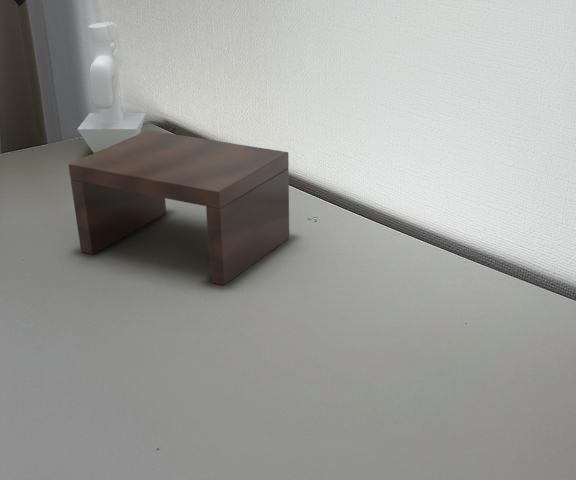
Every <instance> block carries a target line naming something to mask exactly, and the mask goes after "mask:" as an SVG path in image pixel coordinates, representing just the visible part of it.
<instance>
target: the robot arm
mask: <svg viewBox="0 0 576 480" xmlns="http://www.w3.org/2000/svg"><path fill="white" fill-rule="evenodd" d="M13 1H14V2H15V3H16V4H17V6H18V7H20V6H22V5H24V3H25V2H26V0H13Z"/></svg>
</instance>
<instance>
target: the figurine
mask: <svg viewBox="0 0 576 480" xmlns="http://www.w3.org/2000/svg"><path fill="white" fill-rule="evenodd" d="M87 28H88V29H87V30H88V33H89V37H90V40H91V45H92V54H93V61H92V62H91V65H90V68H89V80H90V88H91V96H92V103H93V106H94V107H95V108H96V109H99V111H100V112H89V113H88V115H87V116H86V117H85V119H84V120H83V121H82V122H81V123H80V125H79V126H78V128H76V131H77V132H78V133H79V134H80V135H81V137H82V139H83V141H85V144H86V145H87V146H88V147H89V148H90V150H91V152H92V154H93V153H96V152H98V151H100V150H103V149H105V148H107V147H110V146H112V145H114V144H117V143H119V142H122V141H124V140H126V139H129V138H131V137H133V136H136V135H138V134H140V133H141V131H142V127H143V125H144V122H145V119H146V115H147V112H123V103H122V94H121V85H120V75H119V69H120V67H121V66H122V61H123V59H122V58H123V55H122V53H123V52H122V45H121V38H120V37H121V36H120V29H119V25H118V24H117V23H116V22H114V21H103V22H95V23H91V24H89V25H88V26H87Z"/></svg>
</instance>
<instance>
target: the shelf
mask: <svg viewBox="0 0 576 480" xmlns="http://www.w3.org/2000/svg"><path fill="white" fill-rule="evenodd" d="M289 161H290V160H289V151H283V150H277V149H270V148H264V147H258V146H251V145H246V144H245V145H244V144H238V143H234V142H226V141H221V140H214V139H207V138H200V137H193V136H188V135H182V134H175V133H169V132H162V131H155V130H149V129H147V130H145V131H143V132H140V134H138V135H136V136H133V137H131V138H129V139H126V140H124V141H122V142H119V143H117V144H114V145H112V146H110V147H107V148H105V149H103V150H100V151H98V152H96V153H93V152H92V153H91V154H89V155H86V156H83V157H82V158H79V159H76V160H75V161H73V162H70V163H68V164H67V165H68V171H69V177H70V179H69V180H70V187H71V193H72V198H73V205H74V213H75V219H76V226H77V233H78V239H79V246H80V247H79V248H80V252H81V253H85V254H90V255H94V254H96V253H98V252H99V251H101V250H103V249H105V248H107V247H108V246H110V245H112V244H113V243H115V242H118V241H119V240H120V239H123V238H125V237H126V236H128V235H130V234H131V233H133V232H135V231H137V230H139V229H140V228H143V227H144V226H146V225H148V224H150V223H151V222H153V221H155V220H157V219H159V218H160V217H162V216H164V215H166V214H167V204H166V199H167V200H172V201H178V202H183V203H188V204H193V205H197V206H202V207H205V210H206V227H207V228H206V229H207V238H208V239H207V243H208V259H209V260H208V261H209V276H210V277H209V278H210V283H213V284H217V285H220V286H225V285H227V284H228V283H230V282H231V281H232V280H234V279H235V278H236V277H237V276H239V275H240V274H242V273H243V272H245V271H246V270H248V268H250V267H252V266H253V265H254V264H255V263H257V262H258V261H260V260H261V259H262V258H264V257H265V256H267V255H268V254H269V253H270V252H272V251H273V250H275V249H276V248H278V247H279V246H281V245H282V244H283V243H285V242H286V241H288V240H289V239H290V183H289V182H290V179H289V177H290V176H289V173H290V171H289V170H290V169H289V167H290V166H289V163H290V162H289Z"/></svg>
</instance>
